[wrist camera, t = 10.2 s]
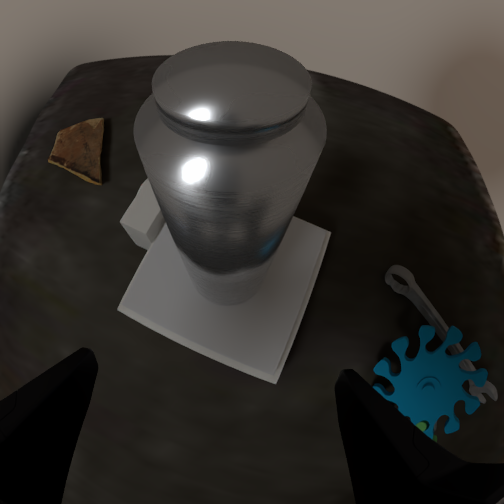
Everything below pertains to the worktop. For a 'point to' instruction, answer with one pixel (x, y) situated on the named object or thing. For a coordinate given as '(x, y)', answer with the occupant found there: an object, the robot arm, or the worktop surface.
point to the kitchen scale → (217, 316)
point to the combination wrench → (435, 323)
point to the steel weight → (229, 158)
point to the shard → (80, 150)
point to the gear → (431, 381)
